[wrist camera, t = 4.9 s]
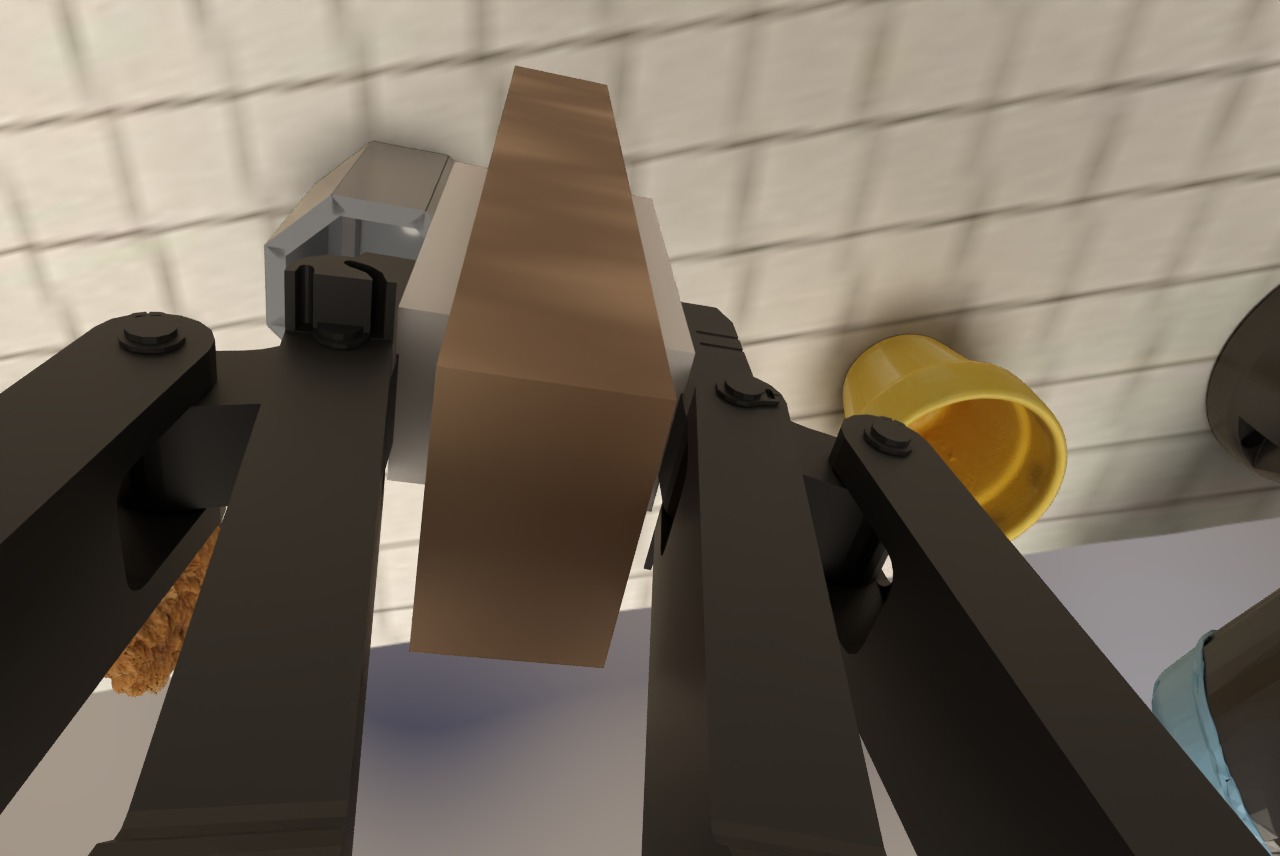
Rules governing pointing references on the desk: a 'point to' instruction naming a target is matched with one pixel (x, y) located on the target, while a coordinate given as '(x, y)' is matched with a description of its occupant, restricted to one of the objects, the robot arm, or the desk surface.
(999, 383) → the plant pot
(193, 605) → the stuffed squirrel
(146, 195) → the desk surface
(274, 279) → the jar
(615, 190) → the tan wooden beam
